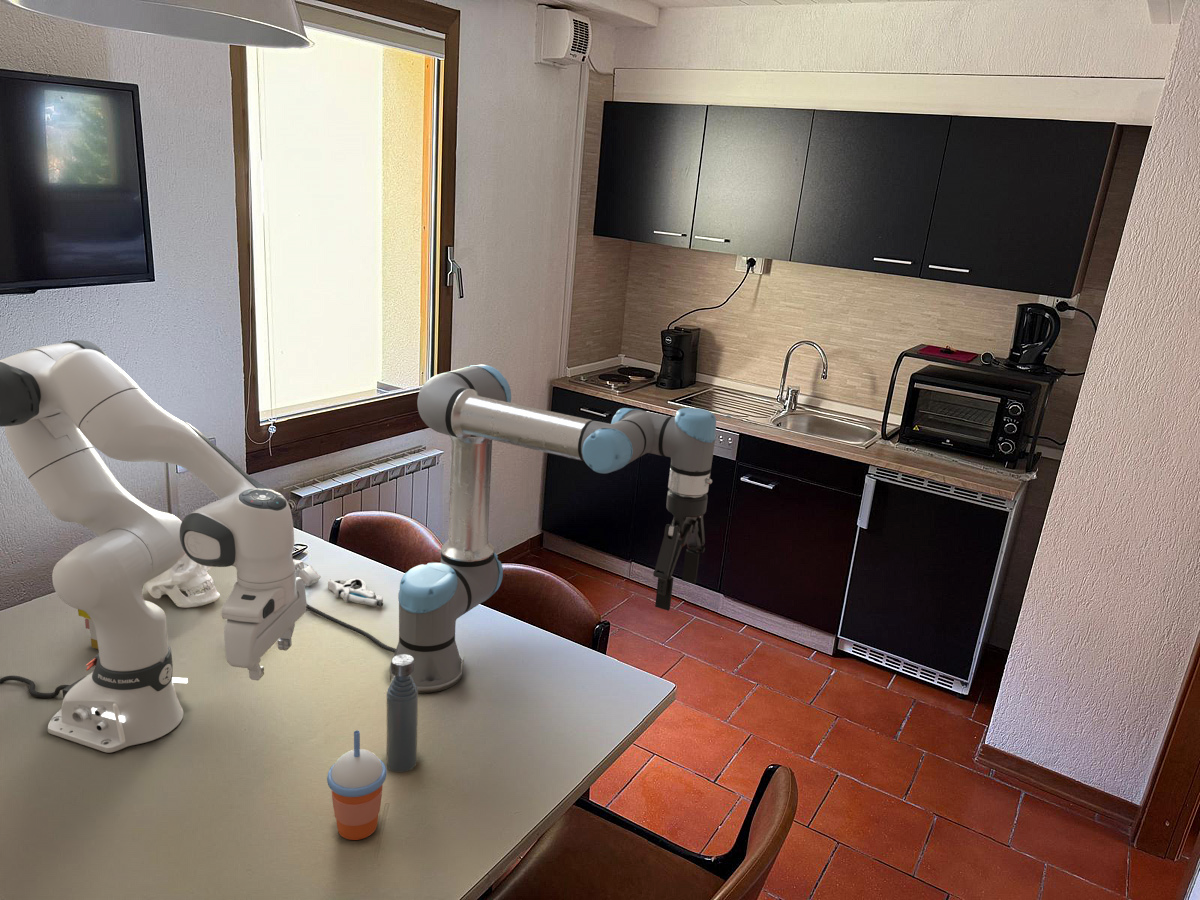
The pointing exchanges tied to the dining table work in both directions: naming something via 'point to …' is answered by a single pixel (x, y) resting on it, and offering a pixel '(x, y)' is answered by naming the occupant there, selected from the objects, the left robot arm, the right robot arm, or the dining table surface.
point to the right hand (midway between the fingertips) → (676, 594)
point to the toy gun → (355, 592)
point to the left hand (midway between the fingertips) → (271, 662)
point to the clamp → (307, 573)
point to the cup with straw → (357, 791)
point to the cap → (402, 665)
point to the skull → (185, 584)
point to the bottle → (402, 724)
